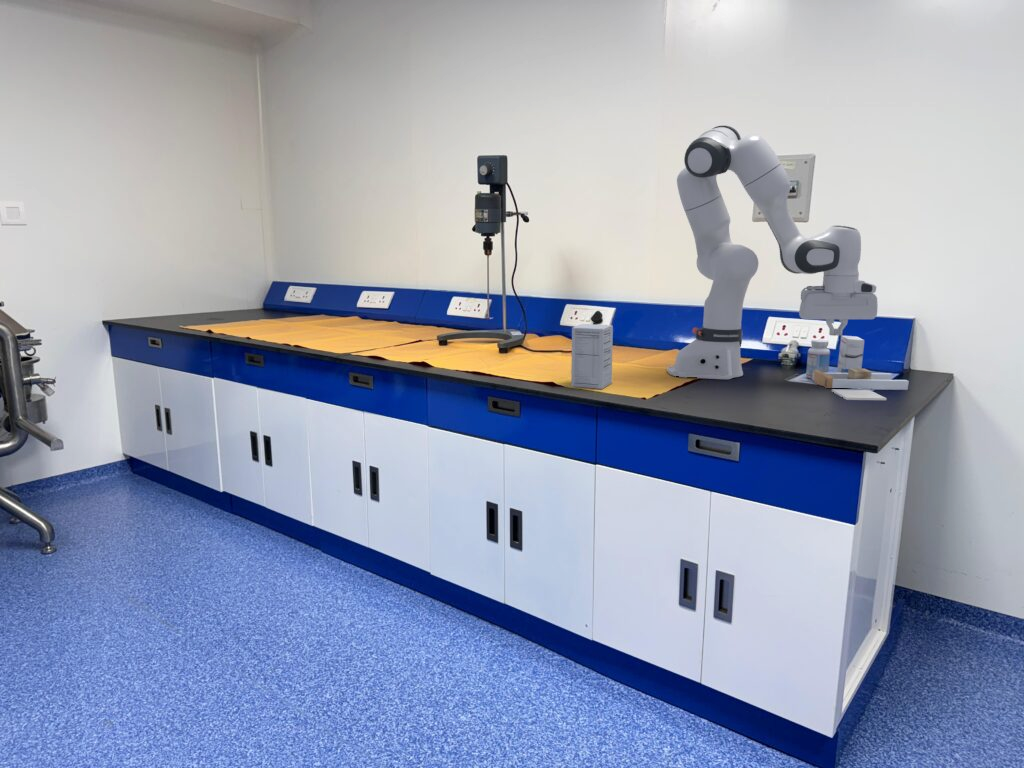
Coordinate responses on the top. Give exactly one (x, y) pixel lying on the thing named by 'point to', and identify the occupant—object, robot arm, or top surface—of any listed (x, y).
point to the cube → (859, 374)
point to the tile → (858, 394)
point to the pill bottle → (818, 357)
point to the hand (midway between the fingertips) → (835, 335)
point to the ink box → (850, 353)
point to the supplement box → (592, 356)
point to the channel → (859, 381)
